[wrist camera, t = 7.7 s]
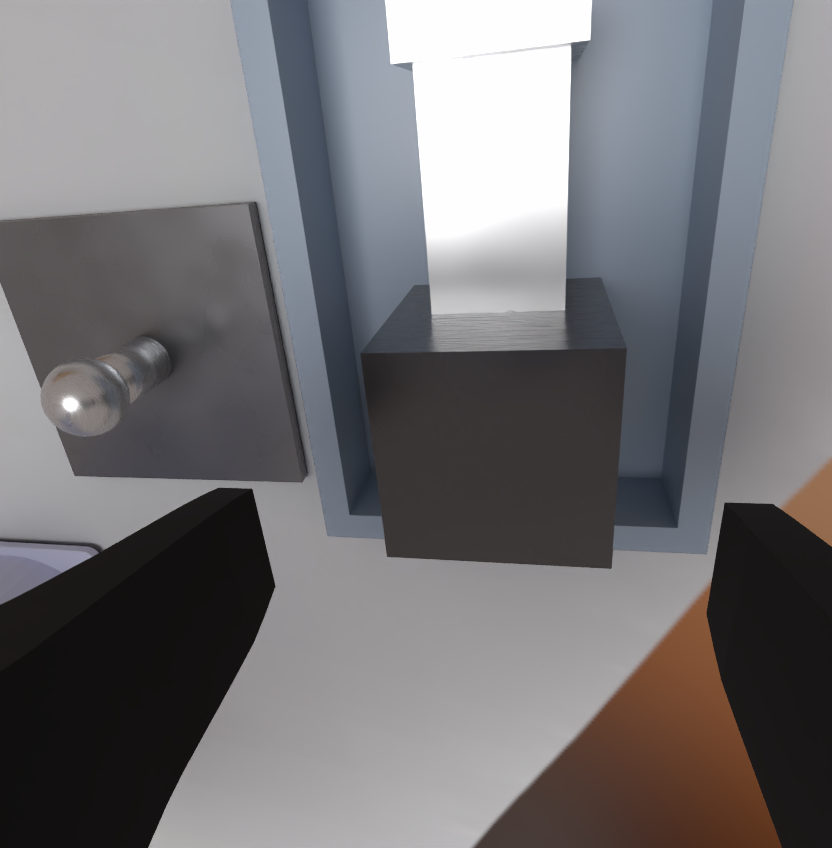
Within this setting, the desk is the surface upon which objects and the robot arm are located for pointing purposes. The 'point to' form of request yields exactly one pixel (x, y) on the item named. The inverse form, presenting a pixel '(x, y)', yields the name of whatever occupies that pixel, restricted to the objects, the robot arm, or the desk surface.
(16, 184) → the desk surface
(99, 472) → the stud plate
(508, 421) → the strut
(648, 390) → the tray
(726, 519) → the robot arm
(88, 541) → the desk surface
